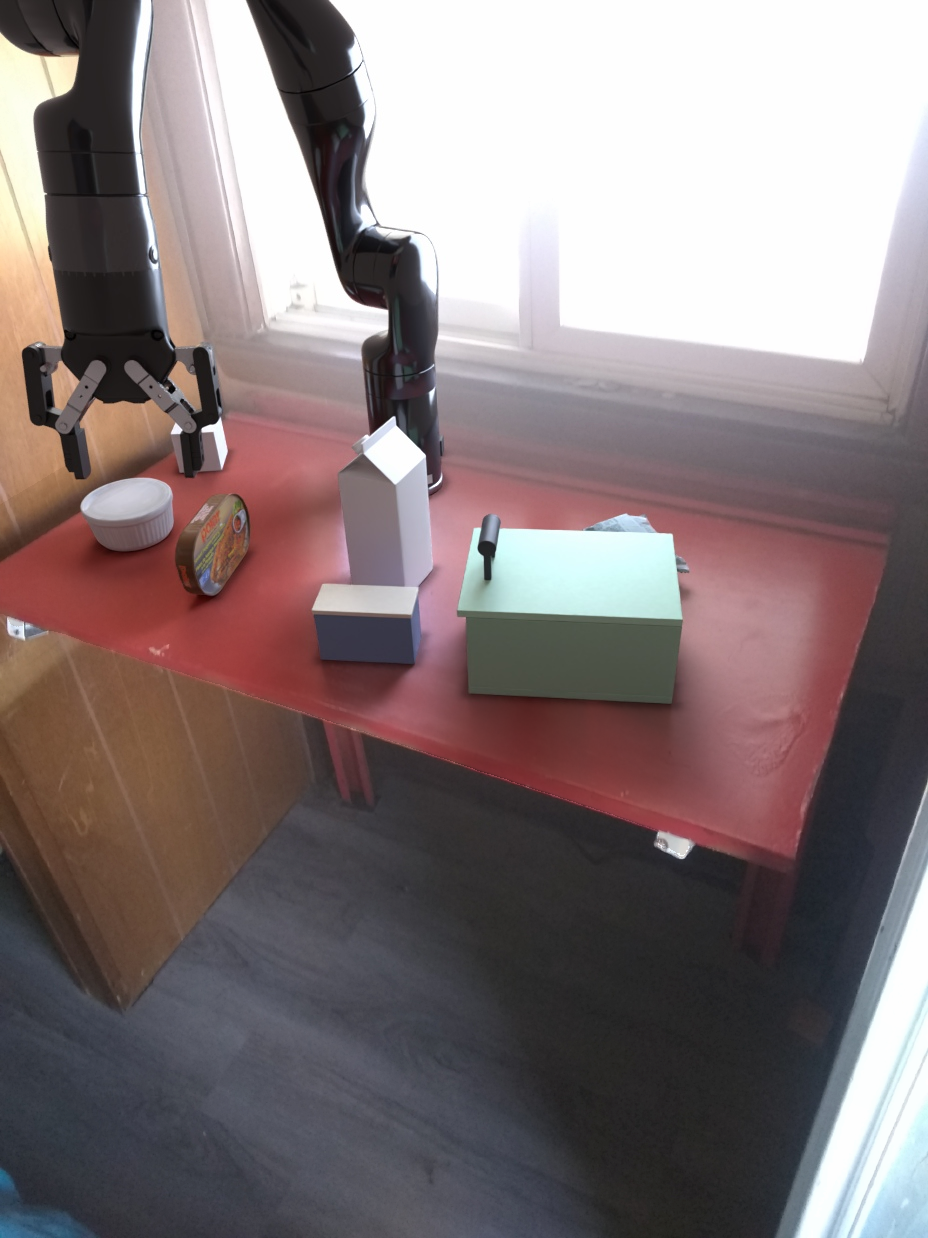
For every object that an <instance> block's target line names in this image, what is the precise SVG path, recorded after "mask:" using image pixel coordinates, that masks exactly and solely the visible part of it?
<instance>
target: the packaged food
mask: <svg viewBox="0 0 928 1238" xmlns="http://www.w3.org/2000/svg"><path fill="white" fill-rule="evenodd" d="M647 516H648V514H647V513H643V514H640V515H629V514H628V513H627V512H626V513H623V514H620V515H617V516H614V517H612V518H608V519H605V520H602V521H600V522H597V523H595V524H594V525H591V526H587V527H584V528H582V529H581V531H601V532H633V533H658V531H657V530H656V528H654V527H653V526H652V525H651V523H650V521H649V520H648V517H647ZM675 558H676V566H677V573H681V574H682V573H684V574H686V573H687V574H689V573H690V568H689V565H688V564H687V562H686V561H685V559H684V557H682V556H680V555H677V553H676V552H675Z"/></svg>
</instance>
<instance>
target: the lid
mask: <svg viewBox="0 0 928 1238" xmlns="http://www.w3.org/2000/svg"><path fill="white" fill-rule="evenodd" d="M501 524H502V523H501V518H500V517H499V516H498V515H496V514H494V513H489V514H486V515H485V516H483V518H482V522H481V527H473V529H472V535H471V540H470V545H469V549H468V555H467V560H466V564H465V568H464V573H463V578H462V579H463V580H462V582H461V583H462V584H461V589H460V594H459V598H458V603H457V608H456V617H457V618H466V617H471V618H494V619H518V620H541V621H565V622H589V623H612V624H636V625H659V626H682V627H683V623H684V617H683V609H682V608H683V607H682V602H681V601H682V600H681V593H680V591H681V590H680V584H679V575H678V572H677V566H676V558H675V553H676V549H675V543H674V535H673V533H666V532H665V533H663V532H662V533H661V532H660V533H659V532H657V533H633V532H601V531H582V530H570V529H569V530H567V529H565V530H563V529H538V528H537V529H535V528H534V529H533V528H501Z"/></svg>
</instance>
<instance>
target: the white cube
mask: <svg viewBox="0 0 928 1238" xmlns="http://www.w3.org/2000/svg"><path fill="white" fill-rule="evenodd" d="M224 431H225V430H224V428H223V422H222V416H221V417H220V419H219V421H218V422H217V423H216V424H214V425H208V426H206V427H203V428H202V439H203V449H204V457H205V461H204V464H203V466H202V468H201V470H200V471H198V473H201V472H215V471H216V472H217V471H223V468H224V464H225V462H226V458H227V455H228V452H229V451H228V450H229V449H228V446H227V442H226V436H225V432H224ZM181 432H182V429H181V428H180V427H179V426H178V424H177V423H176V422H174V425H173V427H172V430H171V431H170V439H171V443H172V447H173V451H174V456H175V459H176V464H177V467H178V471H179V474H180V473H181V474H184V467H183V458H182V450H181V442H180V433H181Z"/></svg>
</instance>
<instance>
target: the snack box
mask: <svg viewBox="0 0 928 1238" xmlns="http://www.w3.org/2000/svg"><path fill="white" fill-rule="evenodd" d="M419 592H420V587H419V586H418V587H398V586H373V585H352V584H343V583H341V584H340V583H321V586H320V589H319V591H318V594H317V595H316V599H315V601H314V604H313V606H312V608H311V614H312V615H313V620H314V621H313V622H314V626H315V627H314V628H315V633H316V637H317V646H318V650H319V656H320V660H322V661H323V660H325V661H342V662H345V661H346V662H365V663H384V664H385V663H386V664H405V665H406V664H407V665H415V664H416V661H417V660H416V659H417V656H418V652H419V648H420V645H421V640H422V628H421V615H420V603H419Z"/></svg>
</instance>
